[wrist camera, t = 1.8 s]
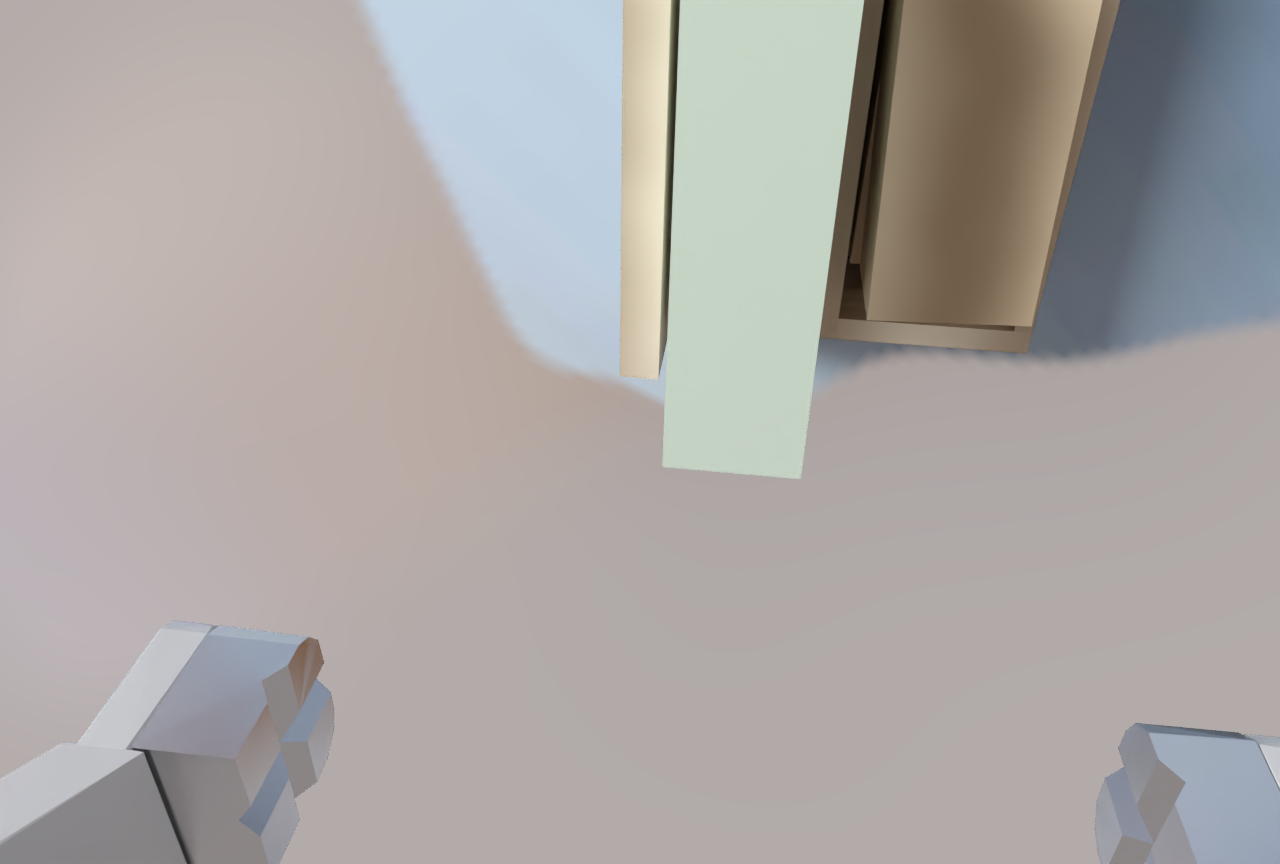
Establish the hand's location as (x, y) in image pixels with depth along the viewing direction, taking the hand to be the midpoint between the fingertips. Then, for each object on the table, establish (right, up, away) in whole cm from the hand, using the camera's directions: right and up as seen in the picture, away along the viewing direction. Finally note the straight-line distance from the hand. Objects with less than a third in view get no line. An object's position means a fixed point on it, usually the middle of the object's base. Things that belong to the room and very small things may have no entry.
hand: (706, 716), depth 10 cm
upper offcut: (+9, +14, +21) cm, 27 cm away
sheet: (+4, +17, +25) cm, 30 cm away
